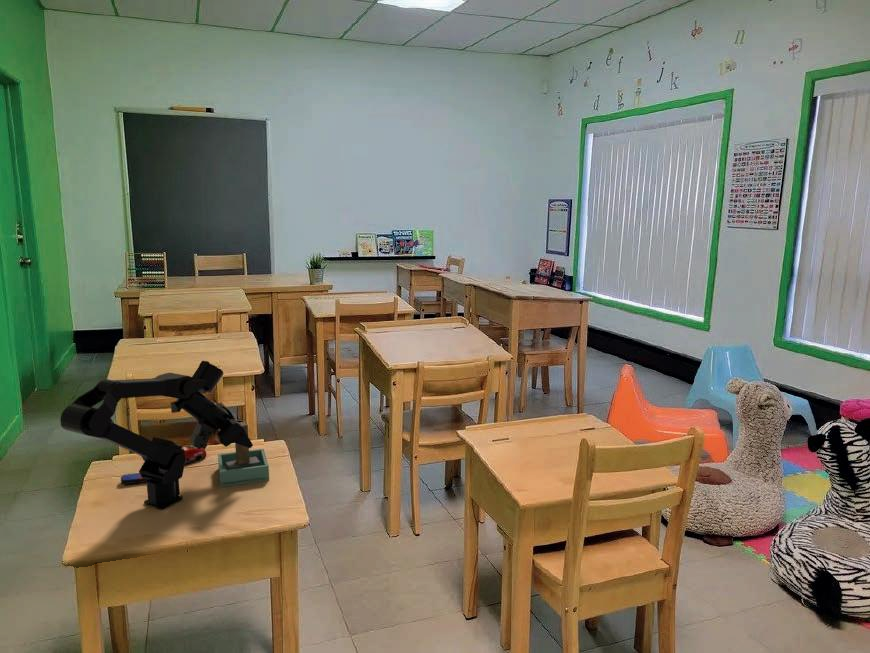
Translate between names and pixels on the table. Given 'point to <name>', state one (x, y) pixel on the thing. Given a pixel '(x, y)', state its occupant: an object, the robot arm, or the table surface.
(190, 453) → the race car
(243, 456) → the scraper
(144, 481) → the eraser
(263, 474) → the box
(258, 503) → the table surface
